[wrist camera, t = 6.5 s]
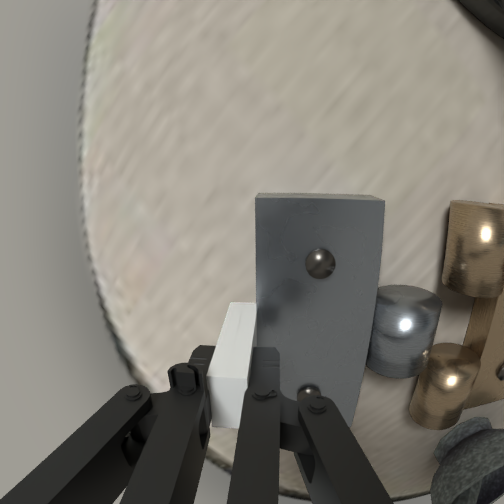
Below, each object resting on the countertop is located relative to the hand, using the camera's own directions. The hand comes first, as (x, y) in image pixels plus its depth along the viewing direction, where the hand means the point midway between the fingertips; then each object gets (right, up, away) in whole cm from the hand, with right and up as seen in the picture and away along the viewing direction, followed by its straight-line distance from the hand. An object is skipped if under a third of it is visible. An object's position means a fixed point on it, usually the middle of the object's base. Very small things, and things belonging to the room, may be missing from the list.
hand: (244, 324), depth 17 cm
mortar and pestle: (+19, -14, +4) cm, 24 cm away
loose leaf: (+6, 0, +1) cm, 6 cm away
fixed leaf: (+16, 0, 0) cm, 16 cm away
